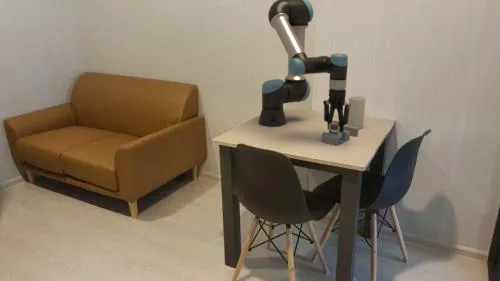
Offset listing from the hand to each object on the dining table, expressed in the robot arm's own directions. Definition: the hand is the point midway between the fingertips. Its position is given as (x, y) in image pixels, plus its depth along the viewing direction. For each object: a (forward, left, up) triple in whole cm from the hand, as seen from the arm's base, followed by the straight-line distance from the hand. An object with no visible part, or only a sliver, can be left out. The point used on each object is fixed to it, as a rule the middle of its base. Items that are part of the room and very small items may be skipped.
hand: (334, 137), depth 189 cm
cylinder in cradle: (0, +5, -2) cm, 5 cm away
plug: (0, 0, 0) cm, 0 cm away
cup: (-5, +28, -2) cm, 29 cm away
